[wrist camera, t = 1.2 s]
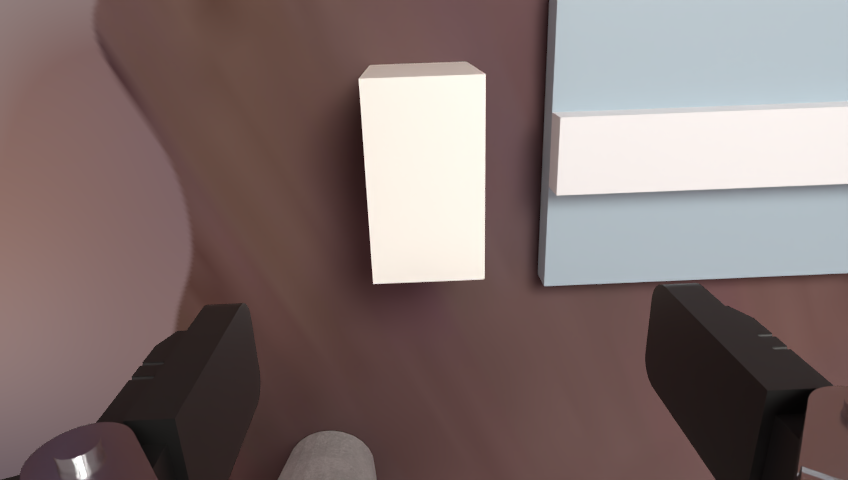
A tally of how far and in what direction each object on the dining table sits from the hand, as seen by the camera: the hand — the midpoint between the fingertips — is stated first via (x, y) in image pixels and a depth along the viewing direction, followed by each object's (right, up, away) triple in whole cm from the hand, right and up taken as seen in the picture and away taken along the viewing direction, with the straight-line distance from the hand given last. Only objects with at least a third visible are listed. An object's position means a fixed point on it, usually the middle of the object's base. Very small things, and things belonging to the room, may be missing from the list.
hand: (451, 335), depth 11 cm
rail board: (+17, +7, +17) cm, 25 cm away
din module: (-1, +6, +17) cm, 18 cm away
